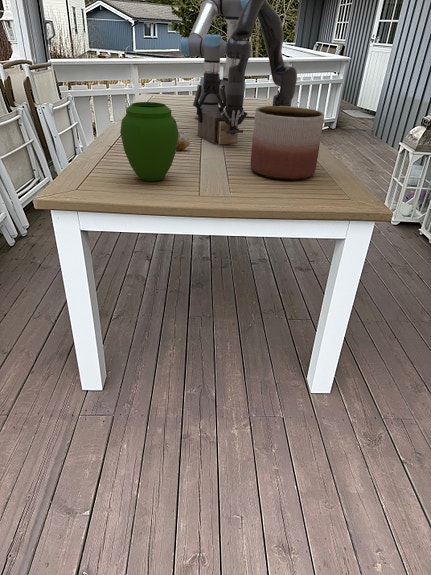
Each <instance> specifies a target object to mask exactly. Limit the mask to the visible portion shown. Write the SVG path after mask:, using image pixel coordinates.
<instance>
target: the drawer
mask: <svg viewBox="0 0 431 575" xmlns="http://www.w3.org/2000/svg"><path fill="white" fill-rule="evenodd" d="M229 130H230V125H228V124H226V123H225V121H224V120H217V133H216V140H217V141H218V142H219V144H218V145H232V144H238V139H239V138H238V137H239V134H243V133H244V129H241V128H239V125H237V128H236V130H230V131H229ZM230 133H235V135H231V134H230Z"/></svg>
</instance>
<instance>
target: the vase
mask: <svg viewBox="0 0 431 575" xmlns="http://www.w3.org/2000/svg"><path fill="white" fill-rule="evenodd" d="M125 113H126V114H125V115H124V117H122V119H121V122H120V123H121V124H120V130H119V133H120V138H121V142H122V147H123V150H124V154H125V155H126V158H127V160H128V163H129V165H130V167H131V168H132V170H133V172H134V173H135V175H136V176H137V177H138V178H139V179H141V180H143V181H145V182H159V181H161V180H163V179H164V178H165V176H166V175H167V174H168V173H169V170H170V169H171V167H172V165H173V162H174V159H175V157H176V156H175V155H176V153H177V149H176V148H177V141H178V134H179V133H178V132H179V129H178V122H177V120H176V119H175V117H174V116H173V115H172V109H171V108H170V107H169V106H167V105H166V104H164V103H162V102H155V101H138V102H132V103H131V104H130V105H128V107H127V108H125Z"/></svg>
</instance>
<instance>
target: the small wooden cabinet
mask: <svg viewBox="0 0 431 575" xmlns="http://www.w3.org/2000/svg"><path fill="white" fill-rule="evenodd" d="M220 113H221V111H218V110H202V123H200V122H198V121H197V136H199V137H200V138H203V139H204V140H206V141H207V142H209V143H211V144H213V145H220V144H219V142H218V141H217V140H216V133H217V120H224V119H223V118H222V116H221V115H220ZM222 113H223V112H222ZM226 117H227V118H228V120H229V116H228V115H227V116H226Z"/></svg>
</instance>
